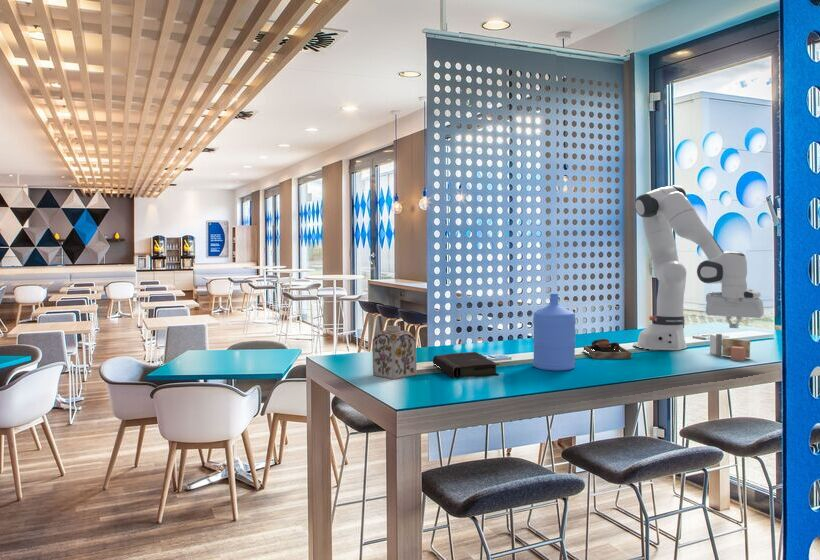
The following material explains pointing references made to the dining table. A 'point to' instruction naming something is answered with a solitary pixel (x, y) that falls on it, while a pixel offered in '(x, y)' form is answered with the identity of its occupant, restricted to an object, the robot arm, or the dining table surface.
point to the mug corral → (609, 354)
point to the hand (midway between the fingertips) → (733, 328)
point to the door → (734, 342)
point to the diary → (466, 364)
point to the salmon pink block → (738, 353)
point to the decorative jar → (394, 354)
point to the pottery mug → (604, 346)
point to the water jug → (554, 337)
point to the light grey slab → (716, 344)
